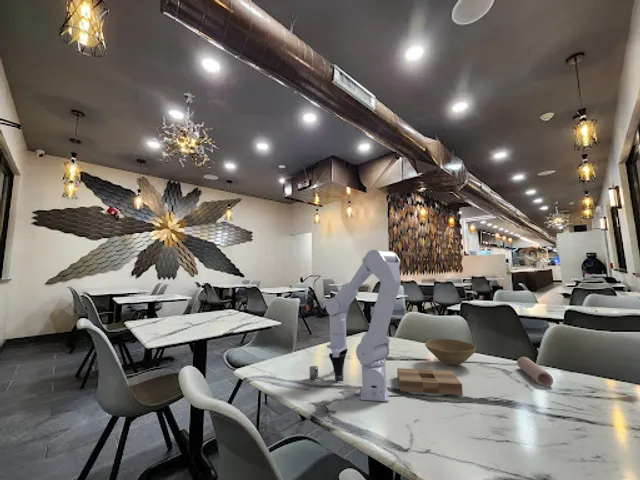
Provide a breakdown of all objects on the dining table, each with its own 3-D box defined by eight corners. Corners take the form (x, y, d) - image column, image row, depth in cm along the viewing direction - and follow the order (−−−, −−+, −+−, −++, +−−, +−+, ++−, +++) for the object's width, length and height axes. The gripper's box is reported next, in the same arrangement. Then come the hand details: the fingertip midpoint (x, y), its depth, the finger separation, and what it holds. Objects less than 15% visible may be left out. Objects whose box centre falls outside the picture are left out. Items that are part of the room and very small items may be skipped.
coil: (554, 373, 88) (531, 357, 105) (536, 370, 90) (516, 355, 107) (554, 389, 88) (530, 370, 105) (536, 386, 89) (516, 367, 106)
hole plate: (462, 394, 84) (461, 384, 84) (400, 391, 87) (400, 380, 87) (451, 379, 95) (451, 370, 96) (397, 377, 99) (397, 368, 99)
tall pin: (343, 382, 95) (342, 357, 96) (334, 381, 96) (333, 357, 96) (344, 379, 98) (343, 355, 99) (335, 378, 98) (335, 355, 99)
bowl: (473, 376, 98) (471, 352, 99) (420, 366, 109) (419, 345, 110) (480, 362, 113) (479, 342, 114) (433, 355, 124) (432, 336, 125)
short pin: (317, 381, 97) (317, 368, 97) (308, 380, 97) (308, 368, 98) (318, 377, 100) (318, 366, 100) (310, 377, 100) (310, 365, 101)
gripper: (330, 328, 106) (330, 365, 105) (323, 336, 92) (324, 380, 91) (348, 328, 105) (349, 366, 103) (344, 337, 91) (345, 381, 89)
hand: (339, 373), depth 97 cm, fingers open, 4 cm apart
